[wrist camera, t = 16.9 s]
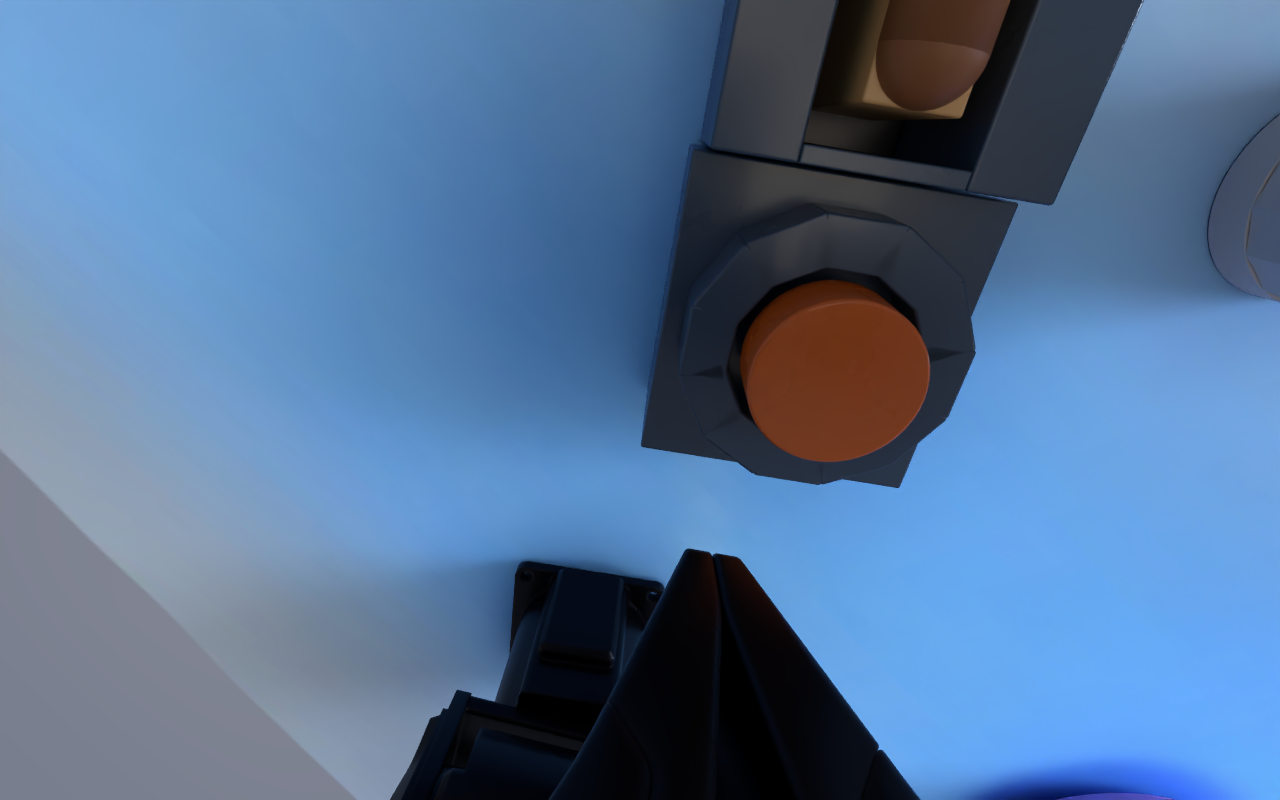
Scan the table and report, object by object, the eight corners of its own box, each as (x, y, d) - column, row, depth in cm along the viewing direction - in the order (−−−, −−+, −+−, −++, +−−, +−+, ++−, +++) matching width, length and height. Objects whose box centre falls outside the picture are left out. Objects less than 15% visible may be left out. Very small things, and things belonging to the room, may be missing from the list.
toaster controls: (860, 424, 21) (922, 526, 16) (647, 389, 21) (636, 480, 16) (946, 186, 18) (1065, 213, 12) (689, 143, 18) (694, 151, 12)
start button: (872, 439, 15) (895, 475, 14) (724, 415, 15) (729, 448, 14) (928, 293, 14) (961, 315, 12) (760, 266, 13) (771, 284, 12)
